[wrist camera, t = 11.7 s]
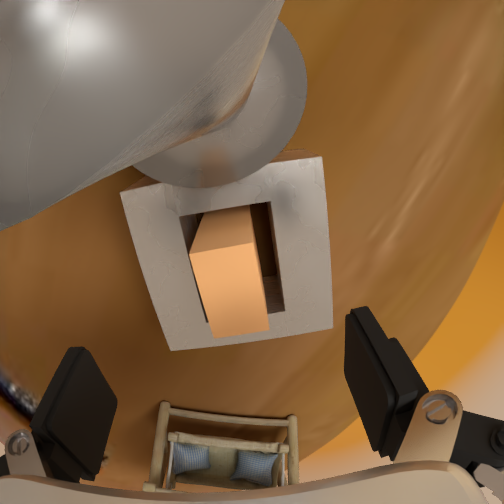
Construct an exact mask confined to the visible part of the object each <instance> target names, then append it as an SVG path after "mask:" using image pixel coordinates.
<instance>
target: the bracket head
mask: <svg viewBox="0 0 504 504" xmlns="http://www.w3.org/2000/svg"><path fill="white" fill-rule="evenodd" d="M284 1H285V0H0V231H1V230H4V229H6V228H8V227H10V226H13V225H15V224H17V223H20V222H22V221H24V220H27V219H29V218H31V217H33V216H34V215H36V214H38V213H39V212H41V211H43V210H45V209H46V208H48V207H50V206H52V205H53V204H55V203H57V202H59V201H61V200H63V199H64V198H66V197H68V196H70V195H72V194H74V193H76V192H78V191H79V190H81V189H83V188H85V187H87V186H89V185H91V184H93V183H95V182H97V181H99V180H101V179H103V178H105V177H107V176H109V175H112V174H114V173H116V172H118V171H120V170H122V169H124V168H127V167H129V166H131V165H132V166H134V167H135V168H136V169H138V170H139V171H140V172H142V173H144V174H146V175H147V176H145V177H143V178H141V179H140V180H138V181H137V182H135V183H134V184H132V185H131V186H129V187H127V188H126V189H124V190H123V191H121V192H120V195H121V199H122V203H123V207H124V211H125V214H126V218H127V222H128V225H129V229H130V232H131V236H132V239H133V243H134V246H135V250H136V253H137V256H138V259H139V263H140V266H141V269H142V272H143V275H144V278H145V281H146V284H147V287H148V290H149V293H150V296H151V299H152V302H153V305H154V308H155V311H156V313H157V316H158V319H159V322H160V324H161V327H162V330H163V332H164V335H165V338H166V340H167V343H168V346H169V348H170V351H175V350H186V349H196V348H205V347H214V346H222V345H230V344H238V343H246V342H253V341H260V340H266V339H273V338H279V337H286V336H292V335H298V334H303V333H309V332H315V331H320V330H325V329H331V328H333V306H332V280H331V260H330V243H329V229H328V216H327V204H326V193H325V182H324V173H323V163H322V157H321V156H319V155H317V154H315V153H312V152H310V151H308V150H306V149H296V150H288V151H281V150H282V149H283V148H284V147H285V146H286V145H287V143H288V142H289V140H290V139H291V137H292V136H293V134H294V132H295V130H296V128H297V126H298V124H299V122H300V120H301V117H302V114H303V111H304V107H305V102H306V97H307V76H306V68H305V64H304V60H303V57H302V54H301V52H300V49H299V47H298V45H297V43H296V41H295V40H294V38H293V36H292V34H291V33H290V32H289V31H288V29H287V28H286V27H285V26H284V24H283V23H282V22H280V21H279V20H278V16H279V13H280V11H281V8H282V6H283V3H284ZM261 202H267V207H268V214H269V221H270V228H271V235H272V242H273V249H274V256H275V263H276V270H277V275H271V276H265V277H262V278H263V285H264V292H265V300H266V307H267V314H268V321H269V328H270V330H266V331H261V332H255V333H248V334H242V335H236V336H229V337H222V338H215V339H214V337H213V334H212V331H211V328H210V324H209V321H208V318H207V315H206V311H205V308H204V305H203V301H202V298H201V295H200V291H199V288H198V284H197V281H196V277H195V274H194V270H193V267H192V263H191V260H190V256H189V253H190V250H191V247H192V244H193V241H194V239H195V236H196V233H197V230H198V228H199V227H198V222H197V218H196V213H201V212H207V211H213V210H219V209H224V208H230V207H236V206H242V205H249V204H255V203H261Z"/></svg>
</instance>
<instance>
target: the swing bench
mask: <svg viewBox="0 0 504 504" xmlns="http://www.w3.org/2000/svg"><path fill="white" fill-rule="evenodd" d="M169 415H175V416H182V417H188V418H195V419H202V420H209V421H217V422H227V423H238V424H251V425H268V426H287V437H286V439H285V441H284V443H278V442H260V441H258V442H257V441H248V440H243V439H236V438H228V437H218V436H209V435H192V434H188V433H184V432H177V431H175V432H169V433H168V441H170V443H169V442H167V425H168V419H169ZM285 453H288V485H293V484H299V461H298V430H297V417H296V416H295V415H290V416H288V417H287V420H279V419H260V418H247V417H236V416H226V415H217V414H209V413H201V412H194V411H187V410H181V409H175V408H170V403H168V402H166V401H163V402H161V404H160V409H159V414H158V421H157V427H156V433H155V440H154V447H153V454H152V461H151V468H150V475H149V482H146V481H145V482H144V484H143V491H145V492H164V493H188V492H183V491H176V490H171V489H172V488H173V489H175V484H176V482H179V483H185V484H196V485H207V486H215V487H223V488H231V489H241V490H256V489H265V488H273V487H277V485H278V487H280V486H287V481H286V478H285V473H284V455H285ZM169 454H170V456H169ZM168 459H169V465H168V473H167V479H166V489H165V488H162V486H163V481H164V477H165V472H166V467H167V463H168ZM281 460H282V462H281Z"/></svg>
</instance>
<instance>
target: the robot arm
mask: <svg viewBox="0 0 504 504" xmlns="http://www.w3.org/2000/svg"><path fill="white" fill-rule="evenodd" d="M344 374H345V378H346V381H347V383H348V386H349V388H350V391H351V394H352V396H353V399H354V401H355V404H356V407H357V409H358V412H359V415H360V417H361V420H362V422H363V425H364V428H365V430H366V433H367V436H368V439H369V442H370V444H371V447H372V450H373V451H374V452H375V451H379V454H380V456H381V458H382V457H385V456H388V455H389V457H390V460H391V461H393V464H390V465H385V466H379V467H375V468H372V469H367V470H362V471H358V472H353V473H349V474H345V475H341V476H336V477H332V478H327V479H322V480H316V481H311V482H306V483H299V484H293V485H287V486H280V487H273V488H265V489H256V490H245V491H232V492H213V493H164V492H145V491H132V490H122V489H113V488H105V487H98V486H91V485H85V484H80V482H79V480H80V478H82V479H83V480H89V481H94V480H95V476H96V474H98V473H99V470H100V466H101V462H102V458H103V455H104V451H105V447H106V443H107V440H108V436H109V432H110V429H111V425H112V422H113V418H114V415H115V412H116V408H117V398H116V396H115V394H114V393H113V391H112V389H111V388H110V386H109V385H108V383H107V381H106V380H105V378H104V376H103V375H102V373H101V371H100V369H99V368H98V366H97V364H96V362H95V361H94V359H93V357H92V355H91V353H90V352H89V351H88V350H86V349H85V348H84V347H70V348H69V349H68V350H67V352H66V354H65V355H64V357H63V359H62V361H61V363H60V365H59V367H58V368H57V370H56V372H55V374H54V376H53V378H52V380H51V382H50V384H49V386H48V388H47V390H46V392H45V394H44V396H43V398H42V400H41V402H40V404H39V406H38V408H37V410H36V412H35V414H34V416H33V418H32V421H31V423H30V425H29V426H30V427H31V429H32V432H31V433H30V432H29V431H28V430H25V429H21V430H17V431H15V432H13V433H12V434H11V435H10V436H9V437H8V439H7V441H6V443H5V455H3V456H1V457H0V504H489V503H488V502H487V500H486V498H485V496H484V494H483V492H482V491H481V489H480V487H485V486H486V487H487V488H489V489H490V490H492V491H493V493H492V494H493V495H495V496H496V497H498V498H499V499H500V500H501V501H502V504H504V421H502V420H498V419H494V418H490V417H486V416H482V415H478V414H475V413H470V412H467V411H463V407H462V404H461V401H460V400H459V398H458V397H457V396H456V395H454V394H453V393H451V392H448V391H445V390H435V391H431V392H429V390H428V388H427V387H426V385H425V383H424V382H423V380H422V378H421V377H420V375H419V374H418V372H417V370H416V369H415V367H414V365H413V364H412V362H411V360H410V359H409V357H408V356H407V354H406V352H405V351H404V349H403V348H402V346H401V344H400V343H399V341H398V340H397V339H396V338H390V339H388V338H387V336H386V335H385V333H384V331H383V330H382V328H381V327H380V325H379V323H378V322H377V320H376V319H375V317H374V315H373V314H372V312H371V311H370V309H369V308H368V307H367V306H364V307H359V308H355V309H351V311H350V314H347V315H346V317H345V357H344Z"/></svg>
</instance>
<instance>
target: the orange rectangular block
mask: <svg viewBox="0 0 504 504" xmlns="http://www.w3.org/2000/svg"><path fill="white" fill-rule="evenodd" d="M189 256H190V260H191V263H192V267H193V270H194V274H195V277H196V281H197V284H198V288H199V291H200V295H201V298H202V301H203V305H204V308H205V311H206V315H207V318H208V321H209V324H210V328H211V331H212V334H213V337H214V339H215V338H222V337H229V336H236V335H242V334H248V333H255V332H261V331H266V330H270V328H269V321H268V314H267V307H266V300H265V292H264V285H263V278H262V271H261V264H260V259H259V253H258V248H257V243H256V237H255V232H254V227H253V222H252V216H251V211H250V206H249V205H242V206H236V207H230V208H224V209H219V210H213V211H207V212H204V214H203V217H202V220H201V222H200V225H199V228H198V230H197V233H196V236H195V239H194V241H193V244H192V247H191V250H190V253H189Z"/></svg>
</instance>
